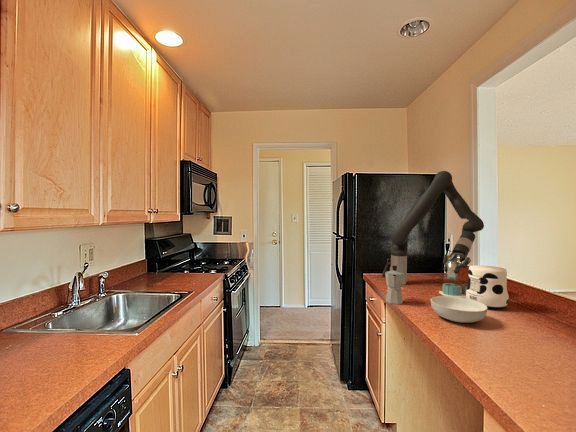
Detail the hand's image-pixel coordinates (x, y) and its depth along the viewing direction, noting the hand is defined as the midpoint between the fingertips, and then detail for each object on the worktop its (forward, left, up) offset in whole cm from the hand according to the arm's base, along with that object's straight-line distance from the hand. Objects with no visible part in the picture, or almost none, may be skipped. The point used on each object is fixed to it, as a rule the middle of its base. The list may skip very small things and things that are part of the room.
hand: (450, 271), depth 168 cm
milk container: (+10, -16, -13) cm, 23 cm away
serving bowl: (-14, -36, -13) cm, 41 cm away
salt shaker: (+2, +1, -4) cm, 5 cm away
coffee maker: (-33, -12, -13) cm, 37 cm away
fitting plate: (+6, +1, -13) cm, 14 cm away
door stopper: (-18, +48, -13) cm, 53 cm away
